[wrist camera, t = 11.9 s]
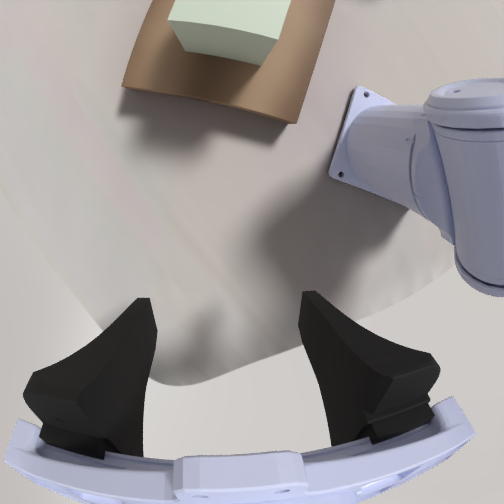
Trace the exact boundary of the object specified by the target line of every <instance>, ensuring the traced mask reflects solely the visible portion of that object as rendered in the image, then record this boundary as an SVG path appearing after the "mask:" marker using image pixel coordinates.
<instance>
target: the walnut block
mask: <svg viewBox="0 0 504 504" xmlns="http://www.w3.org/2000/svg"><path fill="white" fill-rule="evenodd" d="M174 2H175V0H153V1H152V3H151V5H150V8H149V10H148V12H147V15H146V17H145V19H144V22H143V24H142V27H141V29H140V32H139V34H138V37H137V39H136V42H135V45H134V48H133V51H132V53H131V56H130V59H129V62H128V66H127V69H126V72H125V75H124V79H123V82H122V87H125V88H129V89H132V90H138V91H147V92H154V93H161V94H168V95H174V96H180V97H186V98H191V99H196V100H201V101H206V102H211V103H215V104H220V105H224V106H228V107H232V108H236V109H240V110H244V111H248V112H252V113H255V114H259V115H262V116H266V117H269V118H272V119H276V120H279V121H282V122H285V123H288V124H297V121H298V117H299V114H300V111H301V108H302V105H303V102H304V99H305V95H306V92H307V89H308V86H309V83H310V80H311V76H312V73H313V70H314V67H315V64H316V61H317V57H318V54H319V51H320V48H321V45H322V41H323V38H324V35H325V32H326V29H327V26H328V22H329V19H330V16H331V13H332V10H333V6H334V3H335V0H291V2H290V5H289V8H288V11H287V14H286V17H285V20H284V23H283V27H282V30H281V33H280V36H279V39H278V41H277V42H276V44H275V45H274V47H273V48H272V50H271V52H270V53H269V55H268V56H267V58H266V59H265V61H264V62H263V64H262V66H259V65H255V64H251V63H247V62H243V61H238V60H234V59H229V58H224V57H219V56H213V55H207V54H201V53H194V52H187V51H185V50H184V48H183V46H182V45H181V43H180V41H179V39H178V38H177V36H176V34H175V32H174V31H173V29H172V27H171V25H170V24H169V22H168V17H169V14H170V12H171V10H172V7H173V5H174Z"/></svg>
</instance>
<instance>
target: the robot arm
mask: <svg viewBox="0 0 504 504" xmlns="http://www.w3.org/2000/svg"><path fill="white" fill-rule="evenodd" d="M364 92H366V93H367V97H365V96H364ZM339 172H342V173H343V174H342V176H341V177H339V176H338V174H339ZM328 173H329V175H330V177H332V178H334V179H336V180H339V181H342V182H345V183H347V184H350V185H353V186H356V187H358V188H361V189H364V190H366V191H369V192H371V193H374V194H376V195H379V196H381V197H384V198H386V199H389V200H391V201H394V202H396V203H398V204H401V205H403V206H405V207H407V208H409V209H411V210H412V211H414V212H416V213H417V214H419V215H420V216H422V217H424V218H425V219H427V220H429V221H430V222H432V223H433V224H435V225H436V226H437V227H438V228H439V230H440V232H441V236H442V237H443V238H444V239H446V240H447V241H448V242H450V243H451V244H453V245H455V247H454V258H455V264H456V267H457V270H458V272H459V273H460V275H461V277H462V278H463V279H464V280H465V281H466V283H468V284H469V285H470V286H471V287H472V288H474V289H476V290H478V291H479V292H482V293H484V294H487V295H491V296H495V297H504V78H478V79H470V80H464V81H459V82H454V83H450V84H447V85H444V86H441V87H439V88H437V89H435V90H433V91H432V92H431V93H430V95H429V97H428V99H427V101H426V102H425V103H424V105H407V104H405V105H396V104H394V103H392V102H391V101H389V100H387V99H385V98H384V97H382V96H380V95H378V94H376V93H374V92H372V91H370V90H368V89H366V88H364V87H362V86H357V87H355V89H354V91H353V94H352V98H351V101H350V105H349V108H348V111H347V115H346V118H345V121H344V124H343V128H342V131H341V134H340V137H339V140H338V144H337V147H336V150H335V153H334V156H333V159H332V162H331V165H330V168H329V172H328ZM298 326H299V330H300V335H301V338H302V342H303V345H304V348H305V350H306V353H307V355H308V358H309V360H310V363H311V365H312V368H313V370H314V373H315V375H316V378H317V381H318V384H319V387H320V391H321V395H322V399H323V403H324V408H325V412H326V417H327V422H328V427H329V433H330V439H331V445H332V447H329V448H324V449H320V450H315V451H310V452H305V453H297V452H292V451H271V452H262V453H251V454H236V455H197V456H185V457H182V458H179V459H177V460H163V459H153V458H144V457H143V414H144V401H145V392H146V385H147V381H148V377H149V373H150V369H151V365H152V361H153V357H154V353H155V348H156V340H157V327H156V323H155V319H154V315H153V310H152V306H151V302H150V298H137V299H136V300H135V301H134V302H133V303H132V304H131V305H130V306H129V307H128V308H127V309H126V310H125V311H124V312H123V313H122V314H121V315H120V316H119V317H118V318H117V319H116V320H115V321H114V322H113V323H112V324H111V325H110V326H109V327H108V328H107V329H106V330H104V331H103V332H102V333H101V334H100V335H99V336H98V337H97V338H95V339H94V340H93V341H91V342H90V343H89V344H87V345H86V346H85V347H83V348H81V349H80V350H78V351H77V352H75V353H74V354H72V355H70V356H69V357H67V358H65V359H63V360H61V361H59V362H57V363H55V364H53V365H51V366H48V367H46V368H43V369H41V370H38V371H35V372H33V374H32V376H31V378H30V380H29V382H28V384H27V386H26V388H25V390H24V392H23V397H24V400H25V402H26V404H27V405H28V406H29V408H30V409H31V410H32V411H33V412H34V413H35V415H36V416H37V417H38V418H39V419H40V420H41V421H42V422H43V426H42V429H41V428H40V427H38V426H37V425H35V424H32V423H29V422H27V421H24V420H21V419H18V420H17V423H16V426H15V428H14V431H13V433H12V436H11V439H10V442H9V445H8V448H7V451H6V454H5V457H4V461H5V462H6V463H7V464H8V465H10V466H11V467H12V468H14V469H15V470H16V471H18V472H19V473H21V474H22V475H24V476H25V477H27V478H28V479H30V480H31V481H33V482H34V483H36V484H38V485H40V486H42V487H45V488H47V489H49V490H51V491H54V492H56V493H58V494H61V495H63V496H66V497H68V498H71V499H74V500H76V501H79V502H82V503H84V504H358V502H360V501H363V500H366V499H368V498H371V497H373V496H376V495H378V494H380V493H383V492H385V491H388V490H390V489H392V488H394V487H396V486H398V485H400V484H403V483H405V482H407V481H409V480H411V479H413V478H415V477H416V476H418V475H420V474H422V473H424V472H426V471H428V470H429V469H431V468H433V467H435V466H437V465H438V464H440V463H442V462H443V461H445V460H446V459H448V458H449V457H451V456H452V455H453V454H454V453H455V452H456V451H458V450H459V449H460V448H461V447H463V446H464V445H465V444H466V443H467V442H468V441H469V440H470V439H471V438H473V437H474V436H475V435H476V432H475V430H474V429H473V427H472V425H471V423H470V422H469V420H468V419H467V417H466V415H465V414H464V412H463V410H462V409H461V407H460V406H459V404H458V403H457V401H456V399H455V398H454V396H451V397H449V398H447V399H445V400H443V401H441V402H439V403H437V404H435V405H434V406H432V407H431V408H430V406H429V404H428V403H429V402H430V398H429V396H428V392H429V391H430V389H431V388H432V387H433V385H434V384H435V382H436V380H437V379H438V377H439V373H440V366H439V365H438V364H437V362H436V361H435V359H434V358H433V357H432V355H431V354H430V353H427V352H422V351H418V350H414V349H410V348H407V347H404V346H402V345H399V344H396V343H394V342H391V341H389V340H387V339H384V338H382V337H380V336H378V335H376V334H374V333H372V332H371V331H369V330H367V329H365V328H364V327H362V326H360V325H359V324H357V323H356V322H354V321H353V320H351V319H350V318H349V317H347V316H346V315H344V314H343V313H342V312H341V311H339V310H338V309H337V308H335V307H334V306H333V305H332V304H331V303H329V302H328V301H327V300H326V299H325V298H323V297H322V296H321V295H320V294H318V293H317V292H316V291H305V292H303V293H302V301H301V308H300V315H299V323H298Z"/></svg>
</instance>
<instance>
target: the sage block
mask: <svg viewBox="0 0 504 504" xmlns="http://www.w3.org/2000/svg"><path fill="white" fill-rule="evenodd" d="M290 2H291V0H175V2H174V5H173V7H172V10H171V12H170V14H169V17H168V22H169V24H170V25H171V27H172V29H173V31H174V32H175V34H176V36H177V38H178V39H179V41H180V43H181V45H182V46H183V48H184V50H185V51H187V52H194V53H201V54H207V55H213V56H219V57H224V58H229V59H234V60H238V61H243V62H247V63H251V64H255V65H259V66H262V64H263V62H264V61H265V59H266V58H267V56H268V55H269V53H270V52H271V50H272V48H273V47H274V45H275V44H276V42H277V41H278V39H279V36H280V33H281V30H282V27H283V23H284V20H285V17H286V14H287V11H288V8H289V5H290Z"/></svg>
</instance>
